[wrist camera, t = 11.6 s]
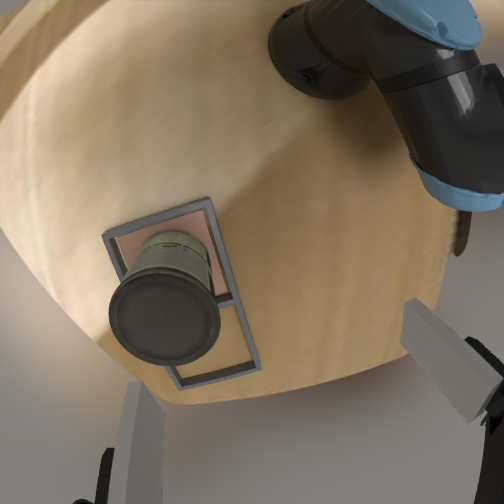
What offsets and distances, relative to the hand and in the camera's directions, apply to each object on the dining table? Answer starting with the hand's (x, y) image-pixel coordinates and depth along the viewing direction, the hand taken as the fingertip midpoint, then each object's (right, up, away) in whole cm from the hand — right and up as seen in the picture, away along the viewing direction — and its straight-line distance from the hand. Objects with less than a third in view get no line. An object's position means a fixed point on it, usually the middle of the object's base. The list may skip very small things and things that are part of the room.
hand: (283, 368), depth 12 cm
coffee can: (-12, +4, +24) cm, 27 cm away
